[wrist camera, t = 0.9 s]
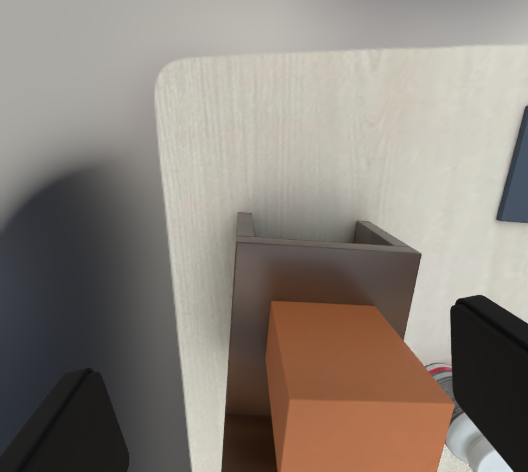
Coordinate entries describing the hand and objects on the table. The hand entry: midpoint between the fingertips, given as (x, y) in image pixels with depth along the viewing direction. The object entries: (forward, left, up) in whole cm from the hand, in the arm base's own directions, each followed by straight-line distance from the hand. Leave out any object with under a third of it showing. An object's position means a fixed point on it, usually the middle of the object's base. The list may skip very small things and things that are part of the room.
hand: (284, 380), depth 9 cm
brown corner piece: (+7, +4, -22) cm, 24 cm away
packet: (+6, +4, -13) cm, 15 cm away
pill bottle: (+17, +20, -22) cm, 35 cm away
